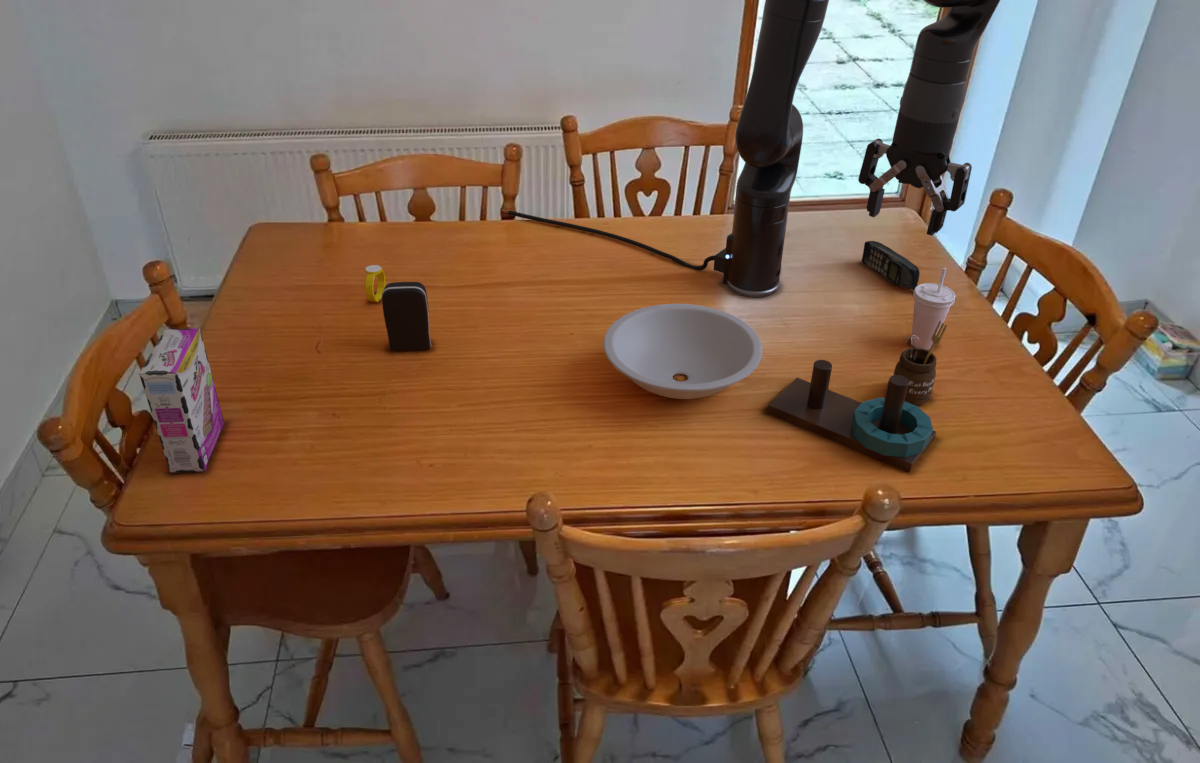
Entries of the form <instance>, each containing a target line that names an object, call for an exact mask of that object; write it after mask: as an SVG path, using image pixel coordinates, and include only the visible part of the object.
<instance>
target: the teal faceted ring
mask: <svg viewBox="0 0 1200 763" xmlns="http://www.w3.org/2000/svg"><path fill="white" fill-rule="evenodd" d="M884 400H885V397H875V398H872V399H869V400H864V401H861V402H862V403H861V404H860V405H859V407H858V408H857V409H856V410H855V411H854V415H853V420H852V429H853V436H854V437H855V438H856V439H857V440H858V441H859V442H860V443H861V444H862V445H863V446H864V447H865V448H867V449H870V450H872V451H875V452H877V453H879V454H882V455H885V456H896V457H908V456H911V455H915V454H918V453H922V452H923V450H924V449H925V448H926V446H927V445H928V444H929V442H930V439H931V435H932V431H933V430H934V428H933V424H932V419H931V417H930V415H928V414H927V413H925V411H923V410H922V409H921V408H920V407H919V406H918V405H913V404H910V403H908V402H905V401H904V405H903V409H902V413H901V418H900V423H902V424H905V425H906V426H907V427H908V428H909V429H911V430H912V431H913V432H910V433H907V434H903V435H900V434H889V433H887V432H885V431H882V430H880V429H877V428H876V427H875V426H874V425H873V424H872V423H871V422H872V421H875V420H879V419H880V418H881V413H882V409H883V404H884Z"/></svg>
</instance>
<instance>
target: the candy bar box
mask: <svg viewBox="0 0 1200 763" xmlns="http://www.w3.org/2000/svg"><path fill="white" fill-rule="evenodd" d="M138 375H139V378H140V382H141V385H142V388H143V391H144V394H145V397H146V400H147V405H148V407H149V410H150V413H151V416H152V420H153V422H154V425H155V429H156V432H157V436H158V438H159V442H160V444H161V448H162V451H163V455H164V457H165V461H166V465H167V467H168V470H169V473H170V474H180V473H181V474H182V473H204V472H205V471H206V470H207V467H208V465H209V462H210V459H211V457H212V455H213V452H214V450H215V447H216V446H217V442H218V440H219V437H220V435H221V433H222V430H223V428H224V426H225V419H224V416H223V412H222V408H221V403H220V401H219V397H218V394H217V390H216V385H215V382H214V377H213V375H212V370H211V366H210V362H209V359H208V355H207V351H206V347H205V343H204V339H203V335H202V331H201V328H195V327H194V328H169V329H166V328H165V329H164V330H163V332H162V333H161V336H160V337H159V339H158V341H157V342H156V344H155V345H154V347H153V349H152V351H151V353H150V354H149V356H148V357H147V359H146V361H145V363H144V364H143V366H142V367H141V369H140V371H139V372H138Z"/></svg>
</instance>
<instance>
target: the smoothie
mask: <svg viewBox="0 0 1200 763" xmlns="http://www.w3.org/2000/svg"><path fill="white" fill-rule="evenodd" d="M946 272H947V267H942V269H941V274H940V278H939V281H938V282H939V283H932V282H924V283H921V284H917V287H916V288H915V290H913V293H912V297H913V299H914V302H913V314H912V326H911V335H913V336H912V337H911V336H910V342H911V341H913V348H922V349H926V350H928V351H929V350H930V348H931V346H932V344H933V342H932V339H931V338H932V335H933V333H934V331H935V329H936V327H937V325H938V323H939V321H941V324H940V326H939V328H938V331H939V329H940V327H941V325H942V323H944V324H945V322H946V318H947V316H948V315H949V311H950V309H951V307H952V306H953V305H954V304H955V299H956V293H955V291H953V289H952V288H950V287H948V286H946V285H944V280H945V276H946ZM938 331H937V333H938ZM937 333H936V335H937ZM914 335H916V336H915V337H914ZM917 336H918V337H917ZM914 338H915V339H914ZM919 340H920V341H919ZM916 342H917V343H916Z"/></svg>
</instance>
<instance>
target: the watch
mask: <svg viewBox="0 0 1200 763" xmlns="http://www.w3.org/2000/svg"><path fill="white" fill-rule="evenodd" d="M364 269H365V274H366V278H365V287H364V289H365V295H366V299H367V300H368V301H369V302H370V303H379V301H381V300H382V293H383V291H384V288H385V286H386V285H387V283H386V281H387V280H386V273H385V272H384V270H383V267H382V266H381V265H378V264H372V265H371V264H370V265H368V266H366V267H365V268H364ZM375 277H377V288H376V293H375V291H374V290H375V289H374V287H375V286H374V285H375V279H376V278H375Z"/></svg>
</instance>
